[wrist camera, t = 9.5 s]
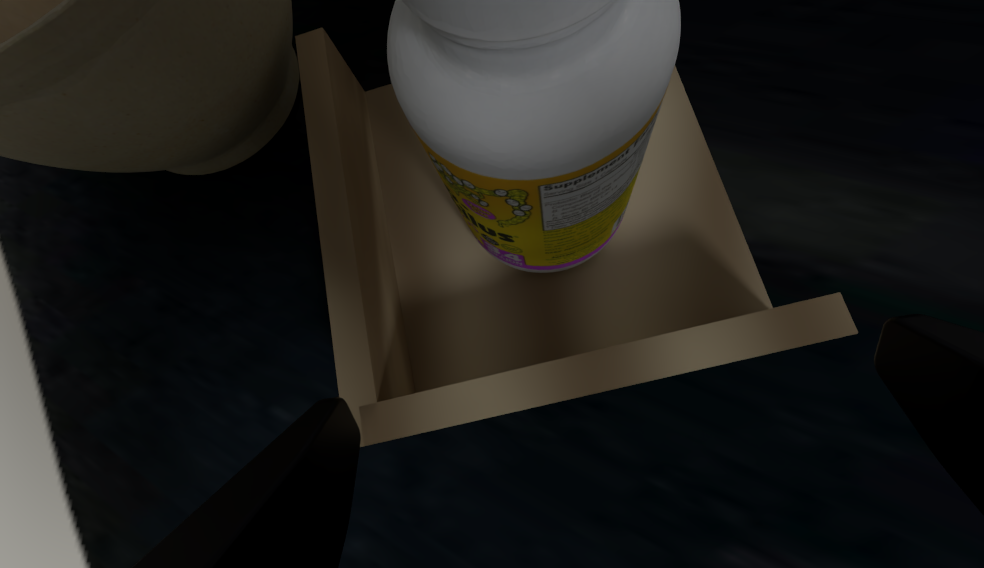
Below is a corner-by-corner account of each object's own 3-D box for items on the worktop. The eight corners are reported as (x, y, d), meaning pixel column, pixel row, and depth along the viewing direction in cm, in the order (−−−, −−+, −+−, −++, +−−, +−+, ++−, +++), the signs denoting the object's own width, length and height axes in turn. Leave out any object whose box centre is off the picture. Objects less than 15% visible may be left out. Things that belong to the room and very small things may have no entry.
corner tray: (397, 437, 18) (345, 450, 14) (346, 105, 22) (295, 36, 18) (782, 349, 17) (858, 333, 12) (648, 13, 21) (669, -86, 17)
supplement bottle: (443, 178, 20) (250, -169, 8) (575, 108, 20) (591, -361, 8) (510, 307, 18) (395, 120, 6) (656, 231, 18) (856, -129, 6)
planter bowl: (420, 113, 22) (288, -147, 11) (143, 300, 22) (-248, 211, 11) (285, -73, 26) (102, -381, 16) (56, 80, 26) (-279, -129, 16)
